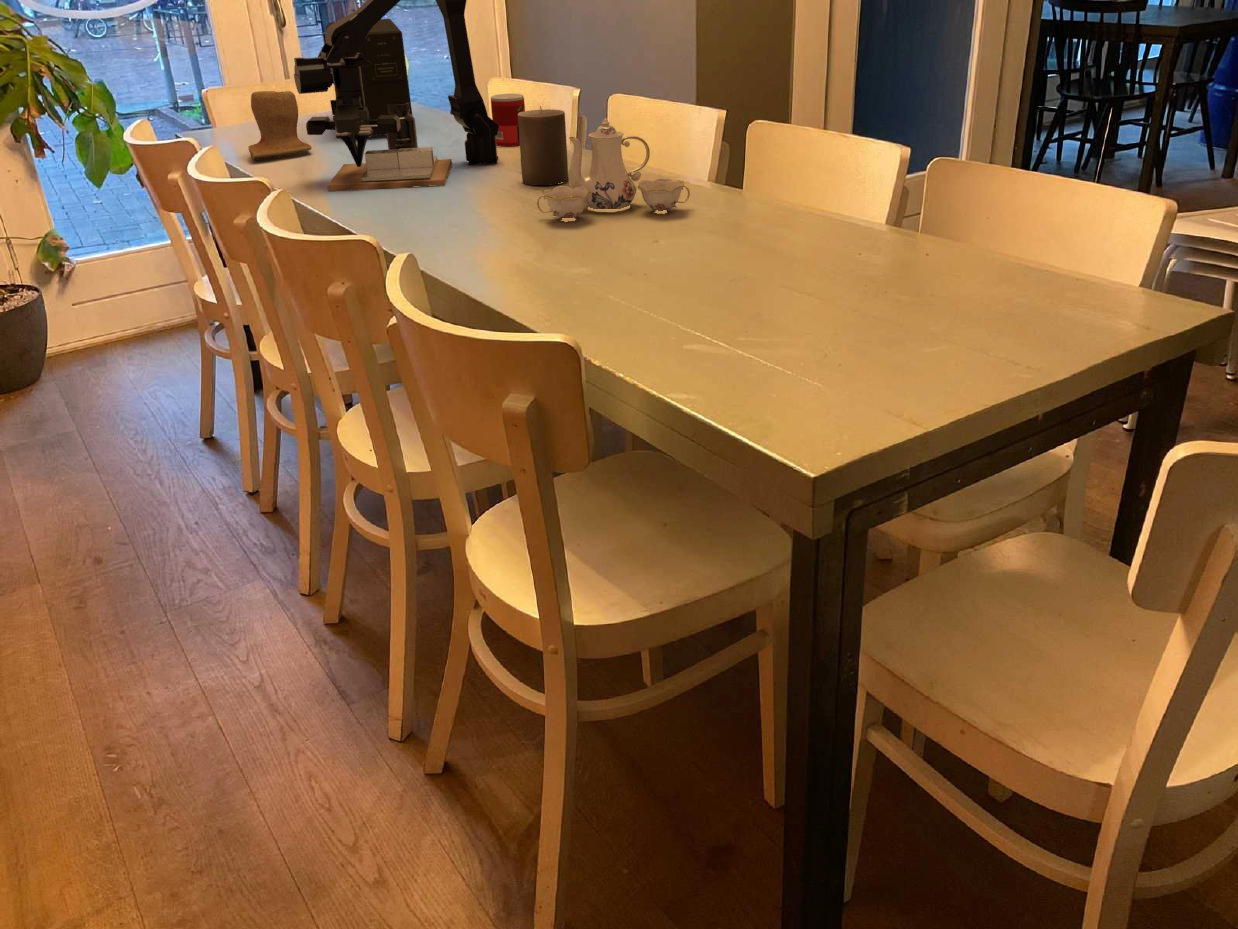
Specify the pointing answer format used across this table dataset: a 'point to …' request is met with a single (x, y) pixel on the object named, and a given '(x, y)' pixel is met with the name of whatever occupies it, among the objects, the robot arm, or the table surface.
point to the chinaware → (608, 179)
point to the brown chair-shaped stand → (276, 125)
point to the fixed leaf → (416, 158)
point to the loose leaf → (390, 167)
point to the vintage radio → (382, 70)
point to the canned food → (507, 117)
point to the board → (352, 180)
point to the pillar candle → (543, 147)
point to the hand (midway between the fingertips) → (359, 166)
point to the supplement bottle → (402, 127)
